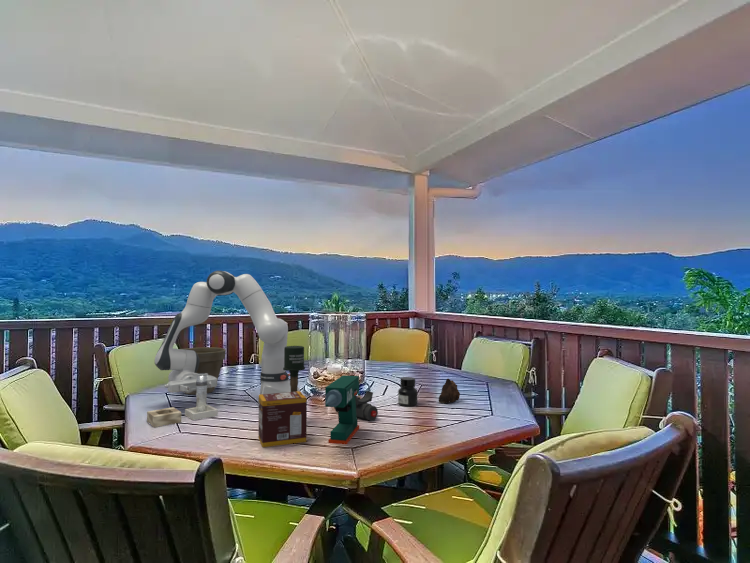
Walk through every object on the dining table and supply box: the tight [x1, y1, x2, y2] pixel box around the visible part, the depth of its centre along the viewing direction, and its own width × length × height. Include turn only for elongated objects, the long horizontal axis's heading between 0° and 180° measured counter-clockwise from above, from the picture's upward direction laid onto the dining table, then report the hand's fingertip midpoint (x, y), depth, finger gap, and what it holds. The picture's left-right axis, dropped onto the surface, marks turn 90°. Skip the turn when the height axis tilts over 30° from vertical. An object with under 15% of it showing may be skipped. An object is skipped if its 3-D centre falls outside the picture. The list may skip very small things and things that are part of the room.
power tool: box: [324, 374, 360, 445], centre depth 154 cm, size 32×7×20 cm, turn 168°
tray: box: [184, 404, 219, 421], centre depth 185 cm, size 10×10×3 cm
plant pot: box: [181, 346, 227, 395], centre depth 228 cm, size 25×25×22 cm
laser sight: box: [333, 390, 379, 422], centre depth 186 cm, size 10×22×10 cm, turn 45°
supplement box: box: [257, 390, 308, 448], centre depth 155 cm, size 10×15×16 cm
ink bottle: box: [397, 376, 418, 407], centre depth 204 cm, size 10×9×12 cm
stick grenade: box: [283, 345, 306, 392], centre depth 176 cm, size 8×9×30 cm
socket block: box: [146, 406, 182, 428], centre depth 176 cm, size 10×10×4 cm
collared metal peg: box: [195, 375, 208, 413], centre depth 185 cm, size 4×4×16 cm
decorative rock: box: [438, 378, 461, 404], centre depth 209 cm, size 12×6×11 cm, turn 132°
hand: (199, 387), depth 186 cm, fingers open, 8 cm apart
